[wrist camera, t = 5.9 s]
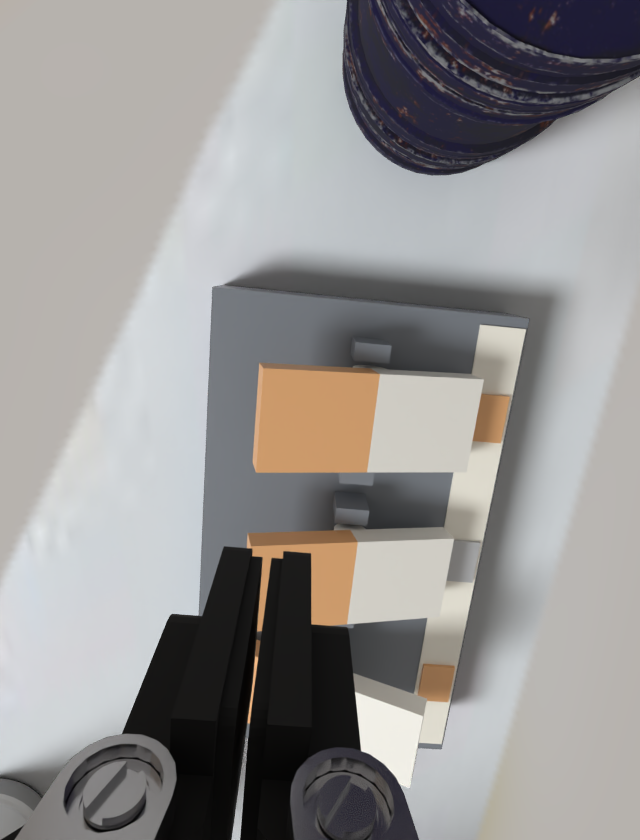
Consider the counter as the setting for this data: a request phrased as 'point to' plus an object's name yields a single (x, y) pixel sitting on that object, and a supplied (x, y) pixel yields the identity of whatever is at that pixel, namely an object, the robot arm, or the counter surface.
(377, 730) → the switch
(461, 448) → the switch
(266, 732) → the robot arm
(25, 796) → the travel mug
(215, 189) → the counter surface
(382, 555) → the switch
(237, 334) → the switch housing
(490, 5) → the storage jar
